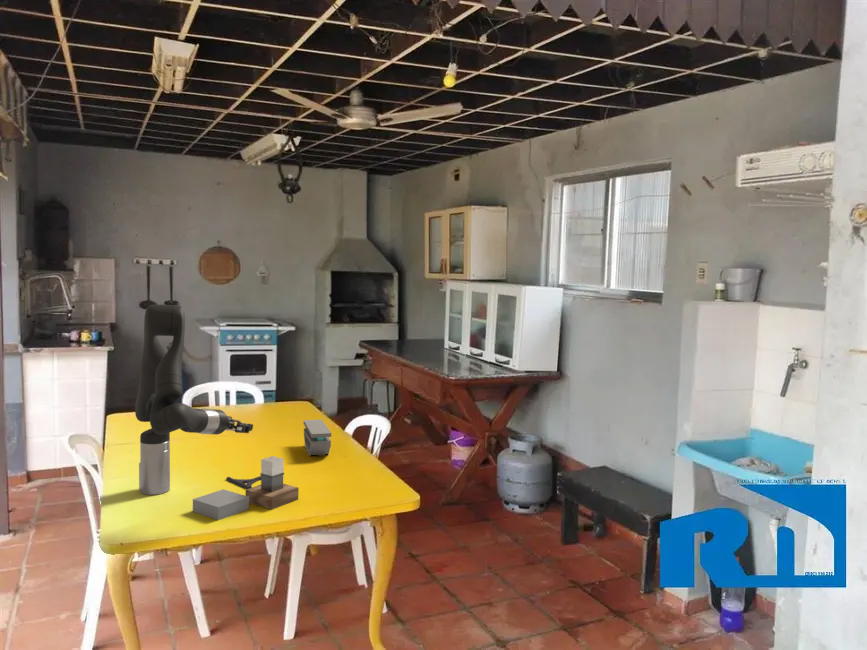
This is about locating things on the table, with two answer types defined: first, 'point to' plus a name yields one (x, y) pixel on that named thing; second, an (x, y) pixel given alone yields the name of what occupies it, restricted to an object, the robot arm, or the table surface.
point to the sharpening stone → (316, 437)
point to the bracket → (243, 482)
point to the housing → (272, 474)
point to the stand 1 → (220, 504)
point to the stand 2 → (272, 496)
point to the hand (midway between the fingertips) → (240, 423)
